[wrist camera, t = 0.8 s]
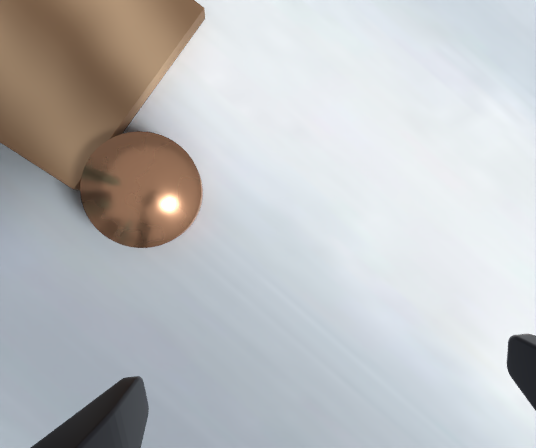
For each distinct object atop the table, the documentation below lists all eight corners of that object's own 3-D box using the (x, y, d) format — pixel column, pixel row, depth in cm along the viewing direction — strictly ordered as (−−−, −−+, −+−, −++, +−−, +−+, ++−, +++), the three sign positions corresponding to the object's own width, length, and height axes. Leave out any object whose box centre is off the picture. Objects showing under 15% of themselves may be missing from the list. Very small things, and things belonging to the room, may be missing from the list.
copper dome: (164, 264, 20) (158, 269, 18) (72, 205, 19) (55, 204, 17) (222, 179, 20) (223, 175, 18) (134, 118, 19) (125, 107, 17)
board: (80, 190, 19) (73, 189, 18) (-132, 53, 17) (-154, 43, 16) (204, 18, 19) (204, 8, 18) (12, -129, 18) (0, -150, 17)
